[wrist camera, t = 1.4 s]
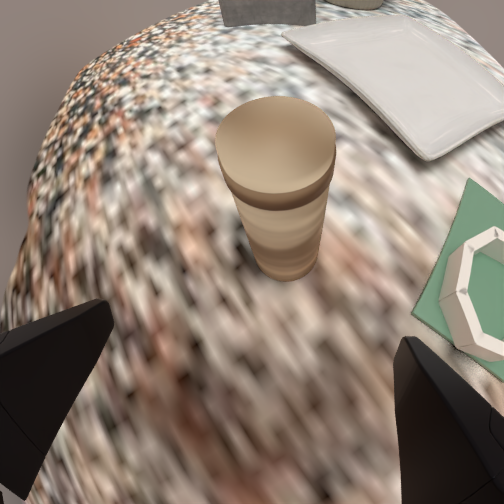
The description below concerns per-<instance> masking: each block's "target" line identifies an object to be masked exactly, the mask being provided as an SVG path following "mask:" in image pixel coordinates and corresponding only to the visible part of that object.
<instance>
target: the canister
mask: <svg viewBox="0 0 504 504" xmlns="http://www.w3.org/2000/svg"><path fill="white" fill-rule="evenodd" d="M325 1H327V2H329V3H332V4H334V5H338V6H341V7H346V8H352V9H361V10H371V9H377V8H379V7H380V6H381V5H382V3H383V1H384V0H325Z"/></svg>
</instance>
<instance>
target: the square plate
mask: <svg viewBox="0 0 504 504" xmlns="http://www.w3.org/2000/svg"><path fill="white" fill-rule="evenodd" d="M281 35H282V37H284V38H285V39H286V40H287V41H289V42H290V43H291V44H292V45H294V46H295V47H296V48H298V49H299V50H300V51H302V52H303V53H304V54H306V55H307V56H309V57H310V58H312V59H313V60H315V61H316V62H317V63H319V64H320V65H322V66H323V67H324V68H326V69H327V70H328V71H330V72H331V73H332V74H333V75H335V76H336V77H337V78H338V79H340V80H341V81H342V82H343V83H344V84H346V85H347V86H348V87H349V88H350V89H351V90H352V91H354V92H355V93H356V94H357V95H358V96H359V97H360V98H361V99H362V100H363V101H364V102H365V103H366V104H367V105H368V106H369V107H370V108H371V109H372V110H373V111H374V112H375V113H376V114H377V115H378V116H379V117H380V118H381V119H382V120H383V121H384V122H385V123H386V124H387V125H388V126H389V127H390V128H391V129H392V130H393V131H394V132H395V133H396V135H397V136H398V137H399V138H400V139H401V140H402V141H403V142H404V143H405V144H406V145H407V146H408V147H409V148H410V149H411V150H412V151H413V152H414V153H415V154H416V155H417V156H419V157H420V158H421V159H423V160H425V161H432V160H435V159H437V158H439V157H441V156H443V155H445V154H446V153H448V152H450V151H452V150H453V149H455V148H456V147H458V146H460V145H461V144H463V143H464V142H466V141H467V140H469V139H471V138H472V137H474V136H476V135H477V134H479V133H481V132H482V131H484V130H486V129H488V128H490V127H491V126H493V125H495V124H498V123H500V122H502V121H504V85H503V84H502V83H501V82H500V81H499V80H498V79H497V78H495V77H494V76H493V75H492V74H491V73H490V72H489V71H488V70H487V69H486V68H484V67H483V66H482V65H481V64H480V63H478V62H477V61H476V60H475V59H474V58H472V57H471V56H470V55H468V54H467V53H466V52H464V51H463V50H462V49H460V48H459V47H458V46H456V45H455V44H453V43H452V42H451V41H449V40H448V39H446V38H445V37H443V36H441V35H440V34H438V33H437V32H435V31H433V30H432V29H430V28H428V27H427V26H425V25H423V24H421V23H420V22H418V21H416V20H415V19H413V18H411V17H409V16H406V15H380V16H366V17H355V18H347V19H340V20H334V21H328V22H323V23H318V24H313V25H309V26H304V27H300V28H296V29H292V30H289V31H285V32H282V33H281Z"/></svg>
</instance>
